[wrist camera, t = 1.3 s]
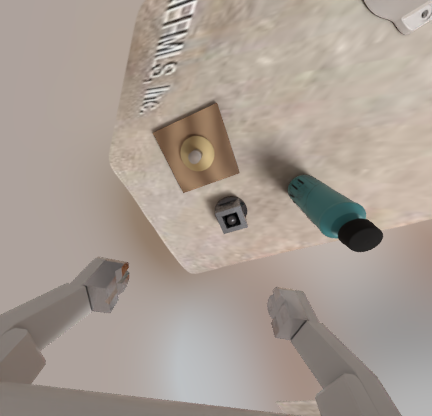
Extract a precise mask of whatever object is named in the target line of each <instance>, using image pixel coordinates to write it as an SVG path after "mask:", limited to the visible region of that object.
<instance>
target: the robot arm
mask: <svg viewBox="0 0 432 416" xmlns="http://www.w3.org/2000/svg"><path fill="white" fill-rule="evenodd" d="M364 2H365V3H366V5H367V7H368V8H369V9H370V10H371V11H372V12H373V13H374V14H375V15H377V16H379V17H382V18H385V19H388V20H391V21H392V22H394V24H395V25H396V27H397V28H398V30H399V31H400V32H401V33H402V34H409V33H411V32H413V31H415V30H416V29H418V28H419V27H421V26H423V25H424V24H426V23H427V22H429V21H430V20H432V0H364ZM422 13H423V17H421V15H422ZM128 268H129V263H128V262H124V261H119V260H113V259H108V258H103V257H97V258H95V259H94V260H93V261H92V262H91V263H90V264H89V265H88V266H87V267H86V268H85V269H84V270H83V271H82V272H81V273H80V274H79V275H78V276H77V277H76V278H75V279H74V280H73V281H72V282H71V283H70V284H69V283H66V284H64V285H62V286H60V287H58V288H55V289H53V290H51V291H49V292H47V293H45V294H43V295H41V296H39V297H37V298H35V299H33V300H30V301H28V302H26V303H24V304H22V305H20V306H18V307H16V308H14V309H12V310H9V311H7V312H6V313H3V314H1V315H0V416H299V415H290V414H282V413H273V412H264V411H256V410H248V409H239V408H230V407H222V406H213V405H205V404H196V403H187V402H178V401H169V400H162V399H153V398H145V397H135V396H127V395H119V394H110V393H101V392H93V391H84V390H75V389H66V388H58V387H50V386H42V385H32V382H33V381H34V379H35V378H36V377H37V375H38V374H39V372H40V371H41V370H42V369H43V367H44V366H45V362H46V360H45V358H44V357H43V355H42V354H41V352H40V351H41V350H42V349H44V348H45V347H46V346H48V345H49V344H50V343H52V342H53V341H54V340H55V339H57V338H58V337H60V336H61V335H62V334H64V333H65V332H66V331H68V330H69V329H70V328H71V327H73V326H74V325H75V324H77V323H78V322H79V321H81V320H82V319H83V318H85V317H86V316H87V315H89V314H90V313H91V312H92V311H96V312H104V313H111V311H112V310H113V308H114V306H115V304H116V303H117V301H118V295H119V294H120V293H122V292H123V291H124V290H125V288H126V286H127V284H128V281H129V272H128V271H127V269H128ZM267 307H268V312H269V315H270V316H271V317H272V319H273V320H272V323H271V324H272V328H273V332H274V335H275V337H276V338H280V339H286V340H291V342H292V344H293V346H294V347H295V348H296V350H297V351H298V353H299V354H300V356H301V357H302V359H303V360H304V362H305V363H306V364H307V366H308V367H309V369H310V370H311V372H312V373H313V374H314V376H315V378H316V379H317V381H318V382H319V383H320V385H321V386H322V388H323V390H322V391H320V392H319V393H317V394H316V397H315V399H316V402H317V405H318V408H319V411H320V414H321V416H402V415H401V414H400V412H399V411H398V409H397V408H396V406H395V404H394V403H393V401H392V400H391V398H390V396H389V395H388V393H387V392H386V390H385V388H384V387H383V385H382V384H381V382H380V381H379V379H378V377H377V376H376V375H375V374H374V373H373V372H372V371H371V370H370V369H369V368H368V367H367V366H366V365H364V363H363V362H362V361H361V360H359V358H358V357H356V356H355V355H354V354H353V353H352V352H351V351H350V350H349V349H348V348H347V347H346V346H345V345H344V344H343V343H342V342H341V341H340V340H339V339H338V338H337V337H336V336H335V335H334V334H333V333H332V332H331V331H330V330H329V329H328V328H327V327H326V326H325V325H324V324H323V323H320V322H319V320H318V318H317V317H316V314H315V313H314V311H313V309H312V307H311V305H310V303H309V301H308V299H307V297H306V295H305V294H304V292H303V291H297V290H292V289H286V288H280V287H276V288H274V289H273V295H271V296H270V297H269V299H268V304H267Z"/></svg>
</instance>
